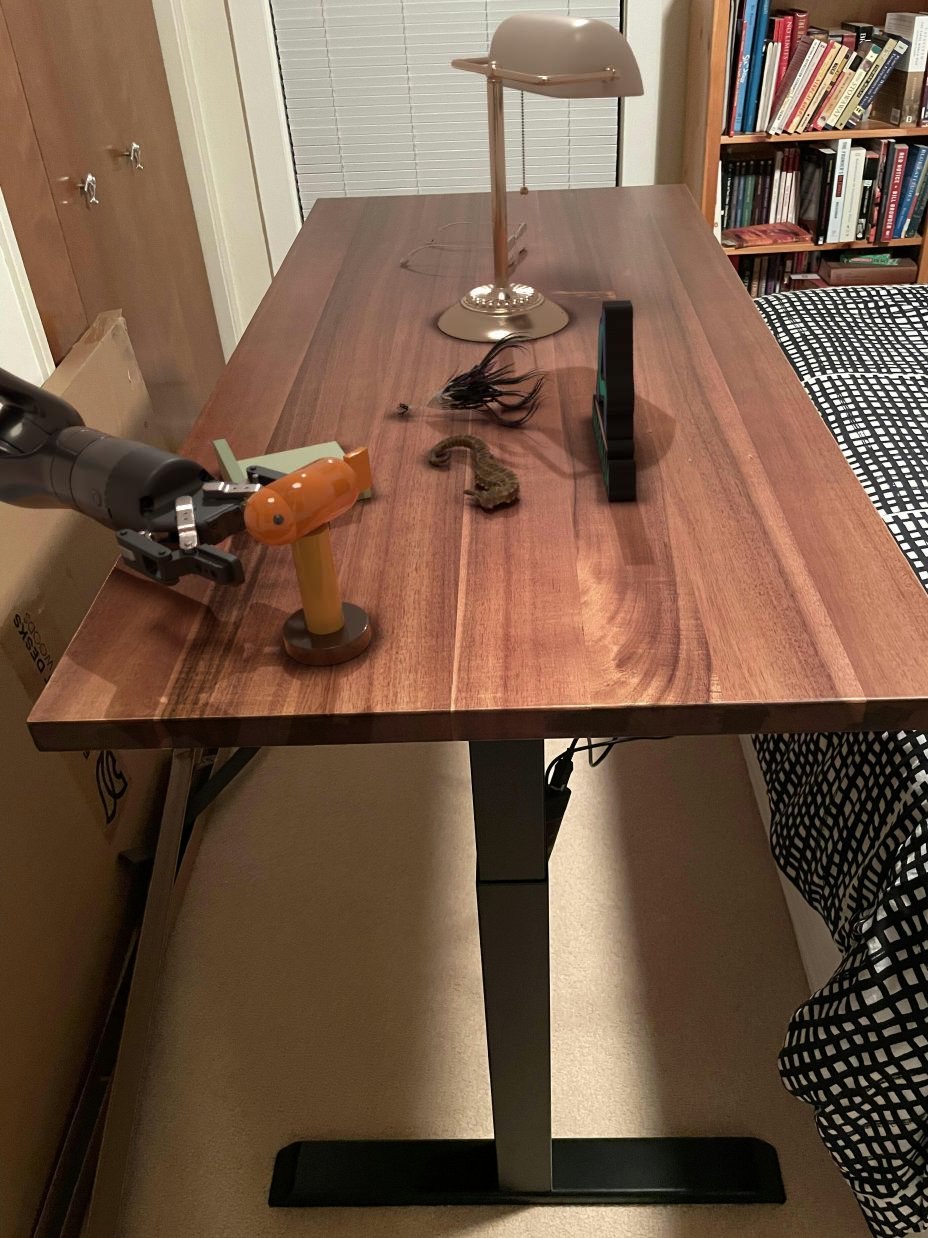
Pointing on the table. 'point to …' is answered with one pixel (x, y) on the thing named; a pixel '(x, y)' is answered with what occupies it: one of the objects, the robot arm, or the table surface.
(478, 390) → the feather lure
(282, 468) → the corner tray
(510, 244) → the eyeglasses
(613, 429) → the decorative sign
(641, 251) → the table surface
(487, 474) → the seahorse
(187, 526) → the robot arm
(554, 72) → the lamp
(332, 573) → the goldfish figurine
